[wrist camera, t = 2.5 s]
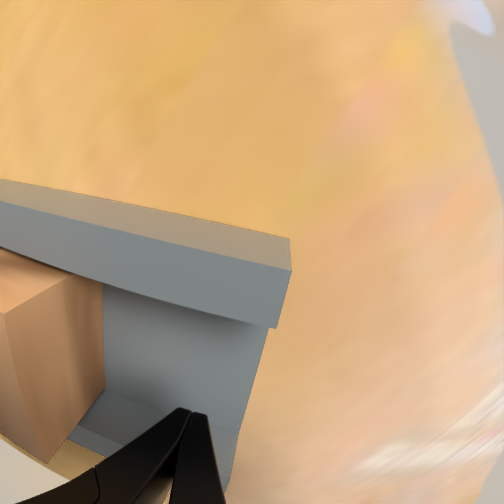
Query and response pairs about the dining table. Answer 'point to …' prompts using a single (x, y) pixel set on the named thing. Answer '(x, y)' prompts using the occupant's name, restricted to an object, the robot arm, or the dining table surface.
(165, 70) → the dining table surface
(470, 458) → the dining table surface
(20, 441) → the block
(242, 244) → the chute
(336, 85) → the dining table surface
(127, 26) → the dining table surface
